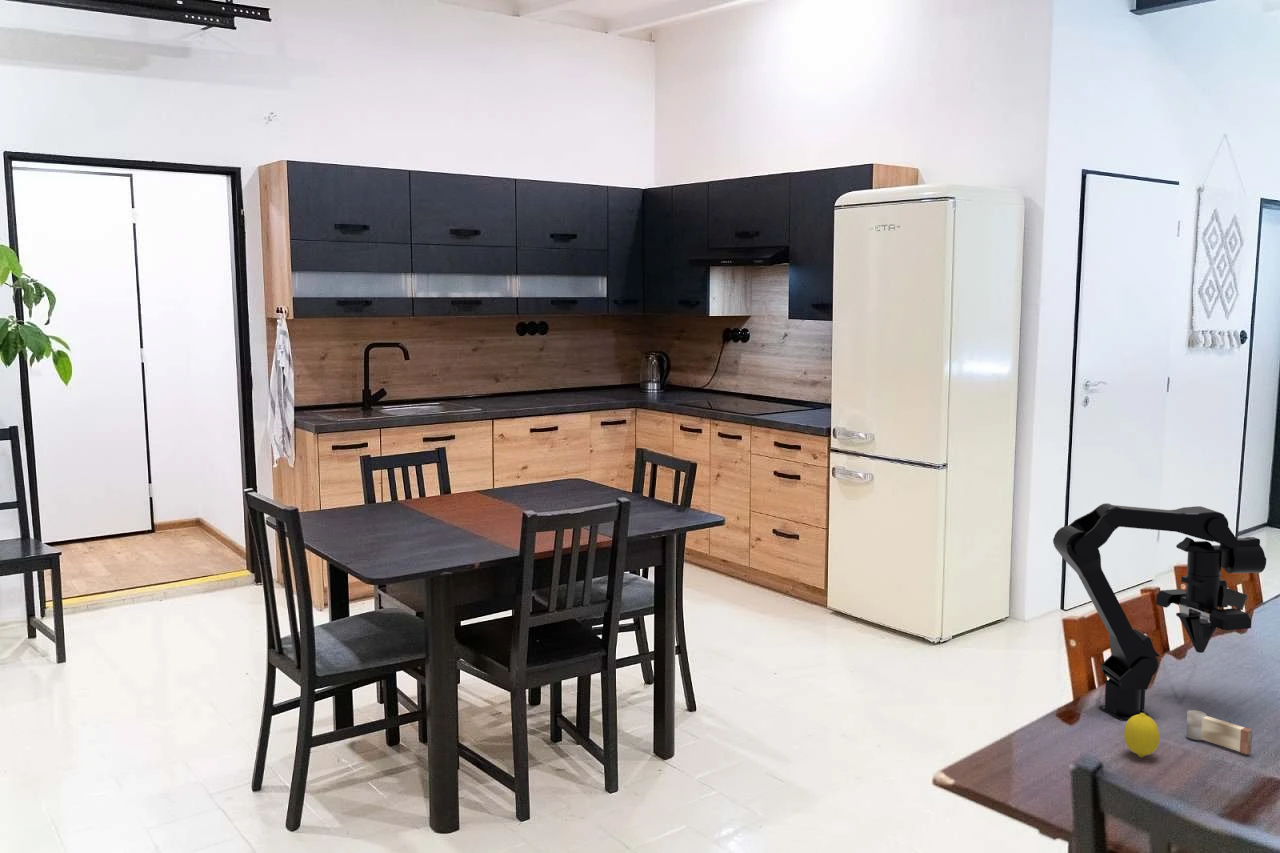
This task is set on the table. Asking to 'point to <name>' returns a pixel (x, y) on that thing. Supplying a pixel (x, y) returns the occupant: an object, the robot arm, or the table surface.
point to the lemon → (1141, 734)
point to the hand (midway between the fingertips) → (1199, 652)
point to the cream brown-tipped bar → (1218, 732)
